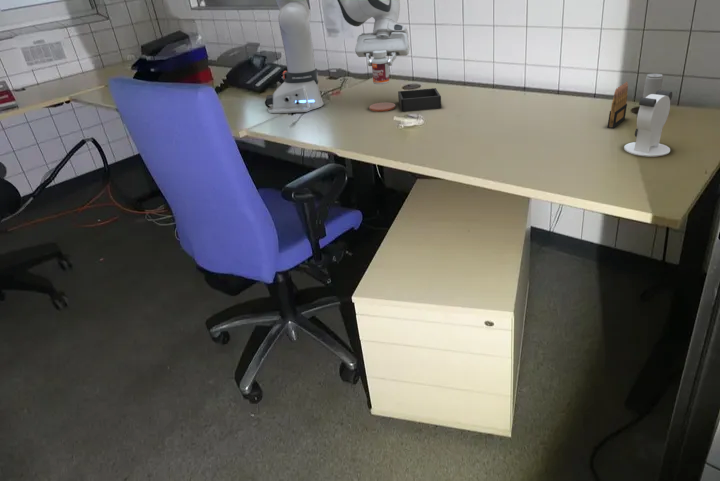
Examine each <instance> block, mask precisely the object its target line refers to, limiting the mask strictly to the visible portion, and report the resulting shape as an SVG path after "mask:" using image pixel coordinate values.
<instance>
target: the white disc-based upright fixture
mask: <svg viewBox="0 0 720 481" xmlns="http://www.w3.org/2000/svg"><path fill="white" fill-rule="evenodd" d="M672 98H673V91H671V90H670V91H669V90H662V89H661V90H657V92H656V94H650V95H648V96H647V97H646V98H643V96H642V97H640V99H639V103H638V105H639V108H638V110H637V113H636V128H635V131H634V137H635V141H632V142H629V143H626V144H625V145H624V146H623V149H624V151H625V152H627V153H629V154H631V155H634V156H639V157H649V158H650V157H651V158H654V157H657V158H658V157H663V156H667V155H668V154H670V152H671V148H670V146H668V145H666V144H663V143H661V142H660V141H661V136H662V133H663V128H664V126H665V125H666V122H667V120H668V118H669V114H670V110H671V100H672Z"/></svg>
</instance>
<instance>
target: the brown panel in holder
mask: <svg viewBox="0 0 720 481" xmlns="http://www.w3.org/2000/svg"><path fill="white" fill-rule="evenodd" d="M628 90H629V83H628V81H625V82H624V83H622V84H621V85H619V86H618V87H617V88H616V89H615V90H614V93H613V97H612V102H611V106H610V110H609V113H608V121H607V129H615V128H616V127H617V126H619V124H621V123H622V122H623V121H625V120H626V115H627V114H626V113H627V107H628V102H627V101H628Z"/></svg>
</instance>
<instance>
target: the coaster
mask: <svg viewBox="0 0 720 481" xmlns="http://www.w3.org/2000/svg"><path fill="white" fill-rule="evenodd" d="M368 108H369V111H371V112H375V113H376V112H377V113H379V112H381V113H382V112H389V111H391V110H392V111H393V110H395V109H396V104H395V103H393V102H386V101H385V102H383V101H382V102H376V103H372V104H370V105H369V107H368Z"/></svg>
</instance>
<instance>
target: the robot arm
mask: <svg viewBox="0 0 720 481" xmlns="http://www.w3.org/2000/svg"><path fill="white" fill-rule="evenodd" d="M336 1H337V3H338V5H339V8H340V11H341V14H342V17H343V19H344V21H345V22H346V23H347V24H349V25H350V26H352V27H360V26H362V25H363V24H364V23H366V22H367V21H368V20H369V19H371V18H373V19H374V22H373V29H372V32H367V33H365V32H362V33H361V34H359V35H357V39H356V44H355V48H354V52H355V54H356V56H357V57H358V58H366V60H367V66H368V67H372V58H374V57H373V51H383V50H386V51H387V56H386V57H390V58H387V59H388V62H387V64H388V66H389V67H392V66H393V63H394V61H395V60H396V59H397V57H401V56H402V57H404V56H409V54H410V50H411V46H410V40H409V32H408V29H407V27H406V25H404V24H399V23H398V21H399V19H400V11H401V1H400V0H336ZM275 2H276V4H277V9H278V10H279V13H278V16H277V17H278V18H277V19H278V25H279V30H280V36H281V41H282V45H283V49H284V55H285V56H284V57H285V62H286V63H285V64H286V69H287V70H283V72H282V79H283V82H282V83H281V84H280V85H279V86H278V87H277V89H275V90H274V92H273V94H267V95H266V98H265V100H264V105H265V106H266V108H267V112H268V113H270V114H289V113H290V114H291V113H307V112H310V111H313V110H315V109H320V108H321V107H323V106H324V105H325V103H324V101H323V100H324V99H323V98H322V95H321V91H320V86H319V73H318V69H317V68H316V67H317V66H316V61H315V60H316V59H315V51H314V44H313V38H312V32H311V26H310V24H311V23H310V21H311V10H310V7H309V4H308V0H275Z"/></svg>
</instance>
